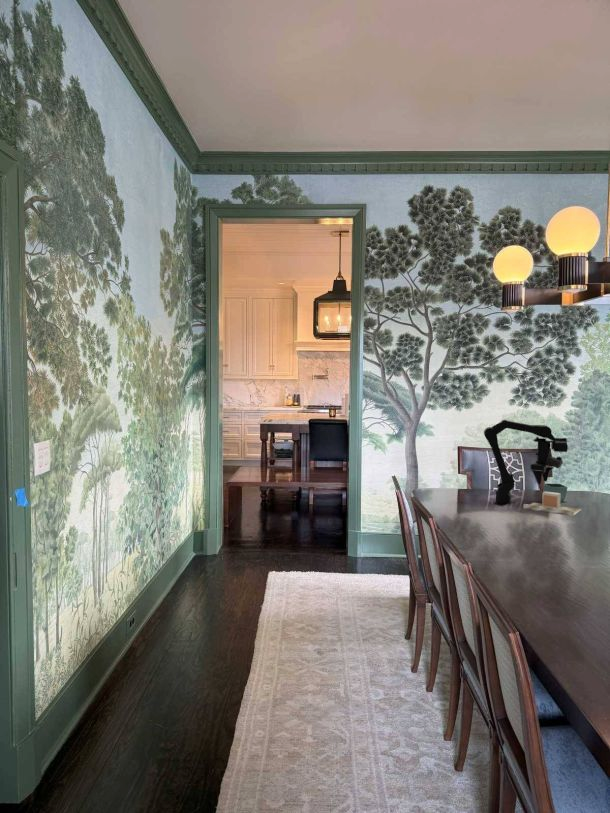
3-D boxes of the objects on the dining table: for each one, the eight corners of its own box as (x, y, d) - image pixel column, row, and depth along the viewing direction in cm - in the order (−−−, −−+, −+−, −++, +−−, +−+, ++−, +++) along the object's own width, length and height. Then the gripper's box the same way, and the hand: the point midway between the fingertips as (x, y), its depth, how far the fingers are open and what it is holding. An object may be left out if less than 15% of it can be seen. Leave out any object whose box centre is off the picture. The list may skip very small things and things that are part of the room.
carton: (544, 507, 262) (545, 491, 262) (560, 510, 258) (560, 493, 257) (541, 509, 259) (542, 492, 258) (557, 511, 254) (558, 494, 254)
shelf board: (523, 510, 261) (523, 504, 260) (533, 504, 273) (533, 498, 273) (573, 518, 247) (573, 511, 247) (581, 511, 259) (581, 505, 259)
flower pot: (567, 504, 273) (568, 486, 273) (549, 504, 274) (550, 486, 273) (559, 500, 282) (560, 483, 282) (542, 500, 282) (542, 483, 282)
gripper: (555, 454, 255) (553, 487, 256) (566, 450, 269) (565, 482, 270) (530, 452, 262) (529, 484, 263) (543, 448, 276) (542, 479, 277)
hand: (542, 482), depth 268 cm, fingers open, 9 cm apart
